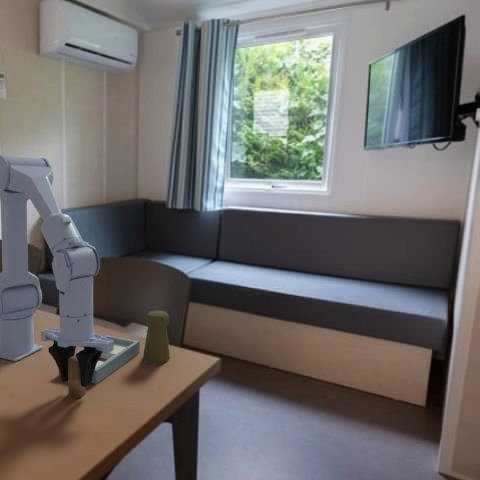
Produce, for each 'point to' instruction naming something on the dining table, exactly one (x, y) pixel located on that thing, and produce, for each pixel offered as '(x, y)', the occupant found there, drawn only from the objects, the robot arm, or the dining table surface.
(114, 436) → the dining table surface
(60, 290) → the robot arm
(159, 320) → the cork
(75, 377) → the peg
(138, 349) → the box
